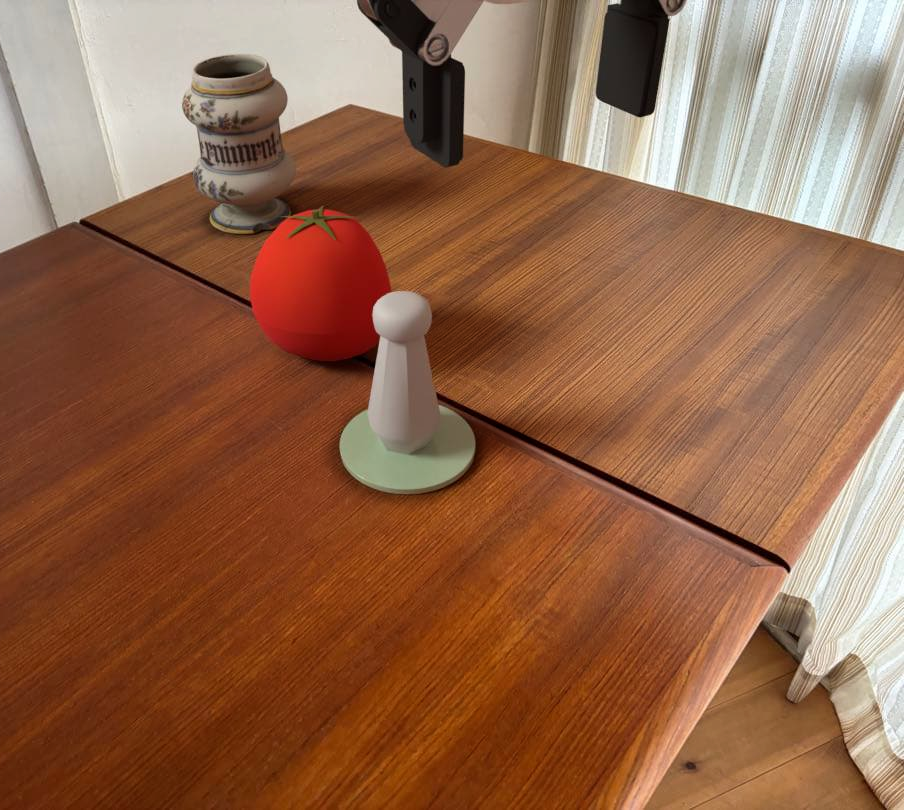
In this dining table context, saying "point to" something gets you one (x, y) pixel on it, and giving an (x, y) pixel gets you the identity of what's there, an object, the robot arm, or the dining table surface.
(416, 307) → the salt shaker
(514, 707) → the dining table surface
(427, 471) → the coaster
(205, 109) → the apothecary jar
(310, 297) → the tomato
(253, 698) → the dining table surface
